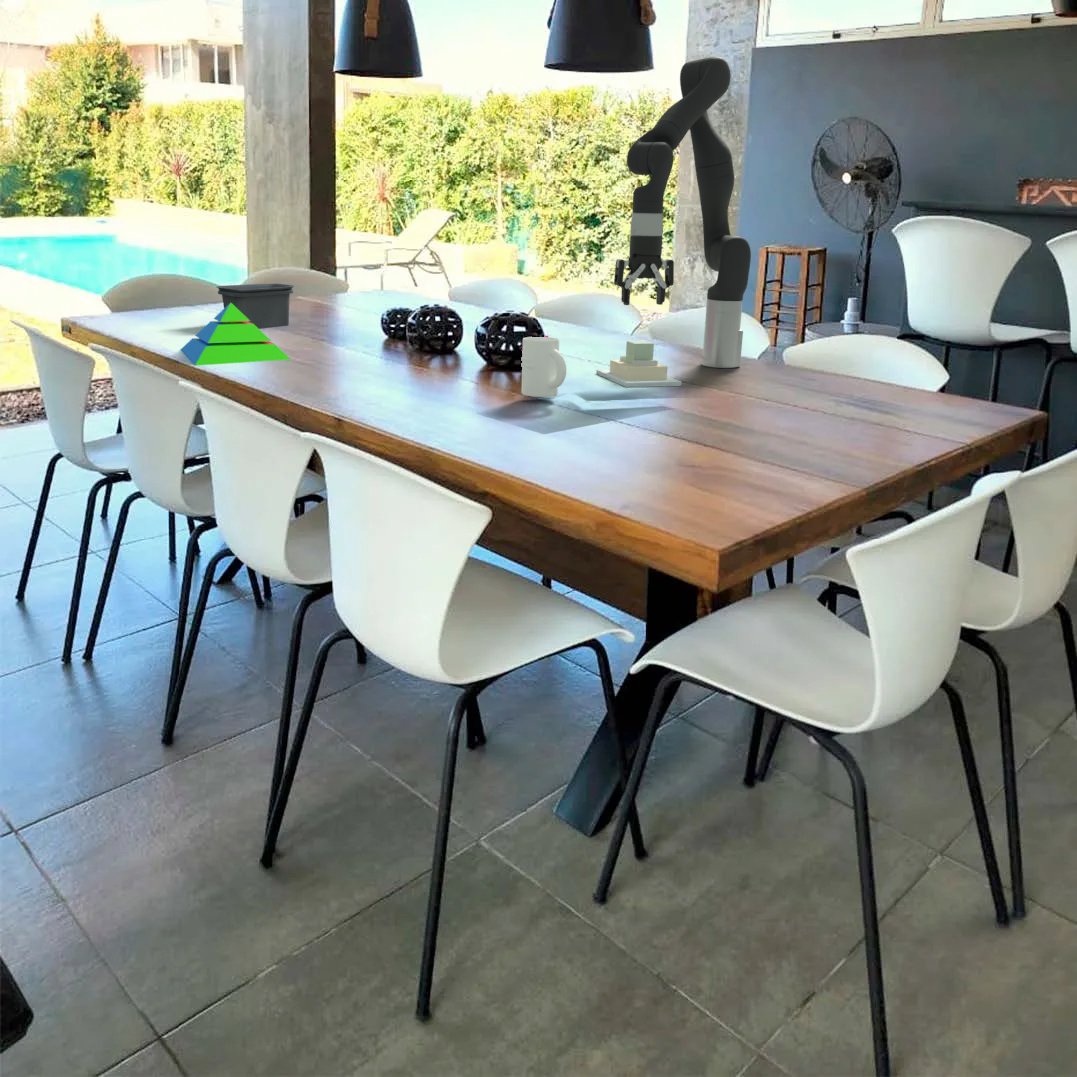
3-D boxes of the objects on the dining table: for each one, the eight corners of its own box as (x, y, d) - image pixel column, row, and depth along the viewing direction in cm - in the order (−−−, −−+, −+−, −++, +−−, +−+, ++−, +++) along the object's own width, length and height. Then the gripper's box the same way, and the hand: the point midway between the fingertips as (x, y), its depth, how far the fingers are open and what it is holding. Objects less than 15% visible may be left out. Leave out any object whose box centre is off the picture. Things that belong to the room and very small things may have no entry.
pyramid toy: (175, 353, 275) (171, 298, 271) (269, 350, 287) (267, 297, 282) (194, 367, 254) (189, 307, 250) (294, 362, 266) (292, 306, 261)
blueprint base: (648, 372, 263) (649, 352, 261) (681, 385, 245) (682, 363, 243) (596, 373, 259) (597, 352, 257) (626, 387, 241) (627, 364, 239)
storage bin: (239, 338, 304) (236, 288, 299) (211, 333, 314) (208, 284, 309) (300, 333, 319) (298, 286, 314) (271, 328, 329) (269, 282, 324)
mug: (549, 401, 220) (551, 344, 217) (513, 392, 229) (514, 338, 225) (577, 397, 226) (579, 341, 222) (540, 389, 234) (542, 335, 230)
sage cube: (644, 361, 254) (645, 340, 252) (652, 364, 249) (653, 343, 248) (625, 361, 252) (626, 341, 251) (633, 364, 248) (634, 343, 246)
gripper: (667, 233, 247) (663, 303, 252) (612, 232, 243) (609, 303, 248) (681, 234, 240) (676, 306, 245) (624, 233, 236) (620, 306, 241)
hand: (642, 304), depth 246 cm, fingers open, 8 cm apart
